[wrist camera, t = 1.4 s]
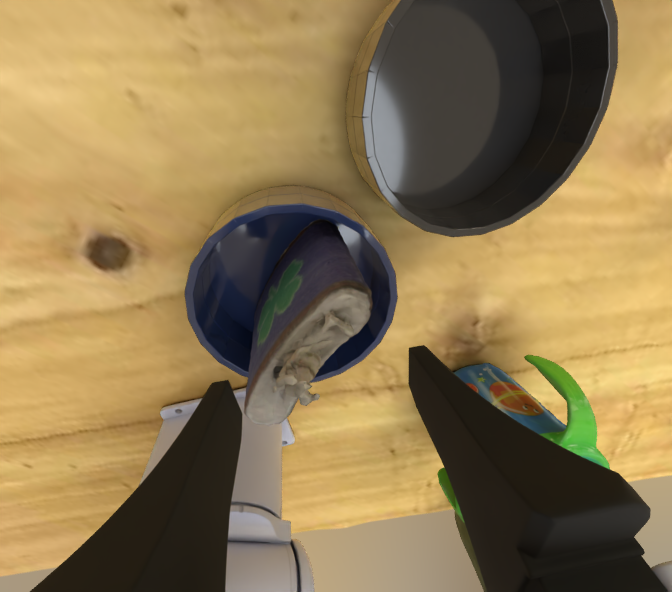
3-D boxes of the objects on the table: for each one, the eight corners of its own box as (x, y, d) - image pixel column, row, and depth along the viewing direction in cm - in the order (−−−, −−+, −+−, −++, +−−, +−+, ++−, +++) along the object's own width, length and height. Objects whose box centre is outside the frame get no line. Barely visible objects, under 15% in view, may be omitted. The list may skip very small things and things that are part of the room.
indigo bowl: (238, 357, 25) (230, 402, 21) (171, 207, 19) (143, 232, 15) (385, 323, 26) (403, 361, 22) (366, 165, 19) (387, 179, 16)
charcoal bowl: (360, 231, 21) (378, 258, 18) (327, -7, 15) (342, -46, 11) (531, 193, 22) (584, 212, 18) (565, -53, 16) (657, -106, 12)
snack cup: (462, 448, 36) (520, 556, 27) (381, 433, 33) (418, 552, 24) (559, 341, 30) (675, 439, 21) (470, 310, 26) (564, 410, 17)
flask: (278, 332, 24) (276, 467, 15) (242, 316, 23) (216, 451, 14) (349, 231, 21) (400, 323, 12) (311, 207, 20) (335, 288, 11)
